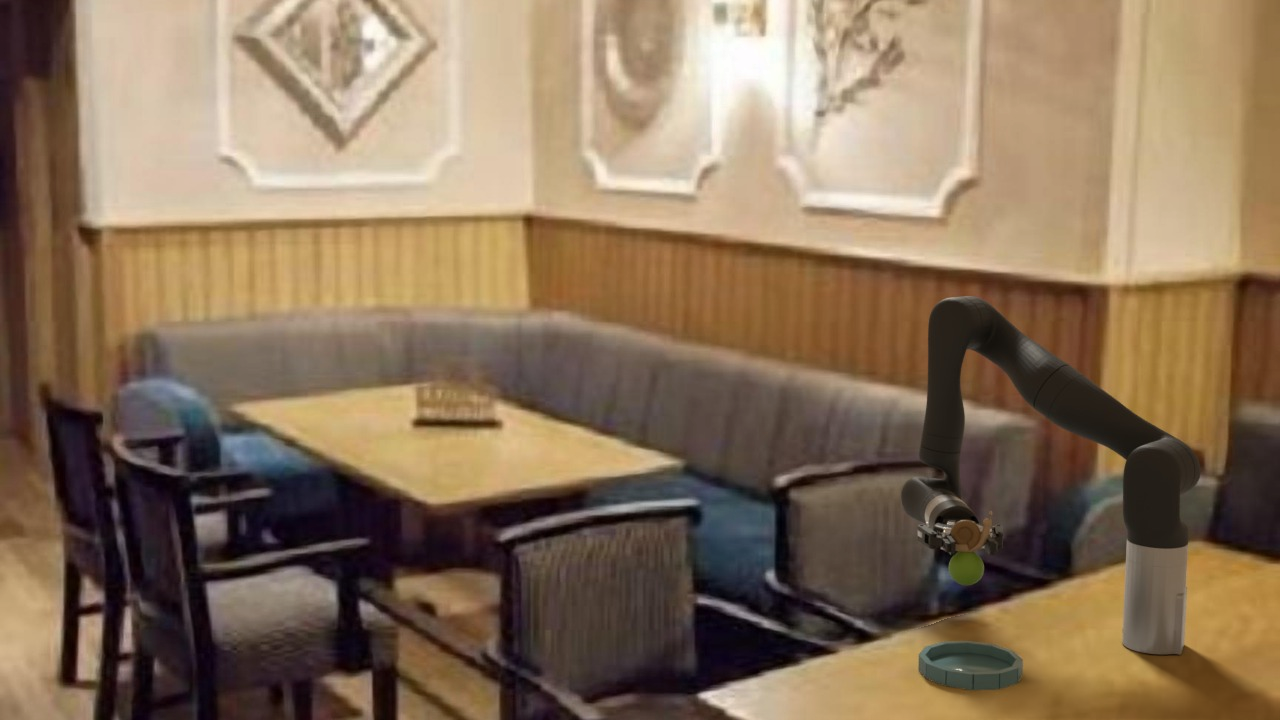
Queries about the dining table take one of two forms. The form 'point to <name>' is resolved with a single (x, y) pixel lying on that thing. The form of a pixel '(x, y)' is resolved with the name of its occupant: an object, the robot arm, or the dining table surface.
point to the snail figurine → (968, 551)
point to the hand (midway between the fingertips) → (972, 548)
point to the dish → (970, 665)
